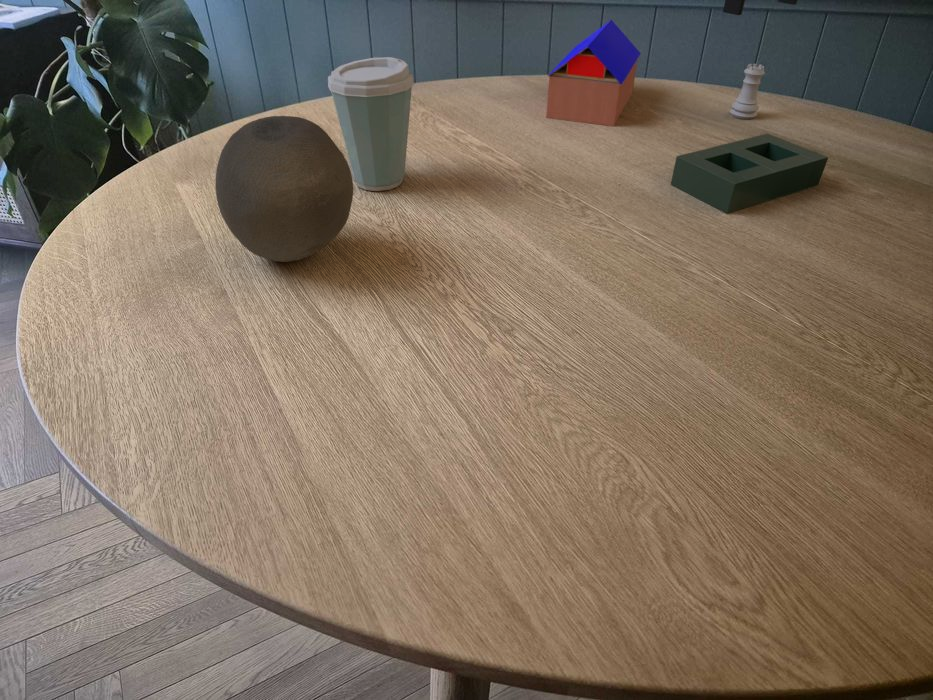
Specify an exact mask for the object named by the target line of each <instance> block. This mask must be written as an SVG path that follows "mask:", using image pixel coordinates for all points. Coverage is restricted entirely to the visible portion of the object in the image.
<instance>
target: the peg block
mask: <svg viewBox="0 0 933 700" xmlns="http://www.w3.org/2000/svg"><path fill="white" fill-rule="evenodd" d="M828 160H829V156H826V155H824V154H821V153H819V152H816V151H814V150H811V149H809V148H806V147H803V146H801V145H798V144H796V143H793V142H790V141H788V140H785V139H783V138H781V137H778V136H775V135H773V134H770V133H767V132H766V133H763V134H760V135H756V136H751V137H748V138H744V139H743V138H742V139H739V140H736V141H732V142H728V143H723V144H719V145H717V146H713V147H708V148H704V149H699V150H697V151H692V152H688V153H684V154H680V155H676V157H675V161H674V165H673V171H672V176H671V180H670V185H671V186H673V187H675V188H676V189H678V190H680V191H682V192H684V193H686V194H688V195H690V196H692V197H694V198H696V199H697V200H699V201H702V202H703V203H706V204H707V205H710V206H712V207H713V208H715V209H717V210H719V211H721V212H723V213H725V214H730V213H733V212H737V211H739V210H740V211H741V210H743V209H746V208H750V207H753V206H756V205H759V204H763V203H766V202H769V201H772V200H775V199H778V198H783V197H786V196H788V195H792V194H795V193H798V192H801V191H804V190H808V189H811V188H815V187H818V186H819V185H820V183H821V180H822V177H823V173H824V172H825V171H824V170H825V168H826V165H827V162H828Z"/></svg>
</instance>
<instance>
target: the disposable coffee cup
mask: <svg viewBox="0 0 933 700" xmlns="http://www.w3.org/2000/svg"><path fill="white" fill-rule="evenodd" d="M327 83H328V84H327V87H328V89H329V91H330V92H331V96H332V100H333V104H334V107H335V111H336V114H337V119H338V123H339V127H340V130H341V134H342V139H343V142H344V145H345V150H346V154H347V157H348V161H349V165H350V170H351V174H352V177H353V180H354V182H355V183H356V184H357V187H358V188H360V189H363V190H365V191H373V192H382V191H390V190H393V189H395V188H397V187H399V186H400V185H401V184H402V183H403V179H404V178H405V175H406V161H407V150H408V149H407V148H408V137H409V125H410V112H411V102H412V90H413V89H412V88H413V86H414V85H415V83H414V76H413V75H412V73H410V69H409V65H408V63H406V61H405V60H402V59H401V58H396V57H391V56H389V57H388V56H386V57H383V56H382V57H369V58H364V59H359V60H358V59H357V60H354V61H350V62H348V63H345V64H344V63H343V64H342V65H339V66H338V67H336V68H335V69H334V70H332V71H331V72H330V75H328V76H327Z"/></svg>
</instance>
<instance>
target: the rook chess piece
mask: <svg viewBox="0 0 933 700" xmlns="http://www.w3.org/2000/svg"><path fill="white" fill-rule="evenodd" d="M743 73H744V75H745V77H744V79H743V80H742V82H743V84H742V88H741V90H740V92H739V95H738V96H737V98H736V99H735V101H734V102H733V103H732V104H731V109H730V110H729V113H730V115H731V116H732V117H734V118H736V119H740V120H753V119H754V118H756V117H757V116H758V112H757V111H759V109H760V107H759V104H758V102H759V101H758V91H759V87H760V84H761V78H762V77H763V76H764V75H765V74H766V71H765V66H764V65H763V64H757V63H753V64H752V63H749V64H747V67H746V68H745V69H744V70H743Z"/></svg>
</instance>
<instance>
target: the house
mask: <svg viewBox="0 0 933 700" xmlns="http://www.w3.org/2000/svg"><path fill="white" fill-rule="evenodd" d="M640 57H641V51H640V50H638V48H637V47H636V46H635V45H634V44H633V42H632V41H631V40H630V39H629V38H628V37H627V35H626V34H625V33H624V32H623V31H622V30H621V29H620V28H619V26H618V25H617V24H616V23H615V22H614V21H613V20H612V19H610V20H609V21H608V22H606V23H605V24H603V25H602V26H600V28H598V29H597V30H596V31H594V32H593V33H591V34H590V35H589V36H588V37H586V38H585V39H583V40H582V41H581V42H580V43H578V44H577V45H576V46H574V47H573V48H572V49H571V51H569V53H568V54H567V55H565V57H564V58H563V59H562V60H561V61H560V62H559V63H558V64H557V65H556V66H555V68H554V69H552V70H551V72H550V73H549V74H548V75H547V77H548V78H549V79H548V89H547V100H546V101H547V102H546V113H545V119H552V120H553V119H555V120H562V121H568V122H576V123H586V124H593V125H601V126H609V127H615V125H616V124H617V121H618V119H619V117H620V116H621V114H622V112H623V110H624V109H625V107H626V105H627V103H628V102H629V99H630V98H631V96H632V94H633V93H634V92H633V91H634V85H635V79H636V74H637V67H638V60H639V58H640Z"/></svg>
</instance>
